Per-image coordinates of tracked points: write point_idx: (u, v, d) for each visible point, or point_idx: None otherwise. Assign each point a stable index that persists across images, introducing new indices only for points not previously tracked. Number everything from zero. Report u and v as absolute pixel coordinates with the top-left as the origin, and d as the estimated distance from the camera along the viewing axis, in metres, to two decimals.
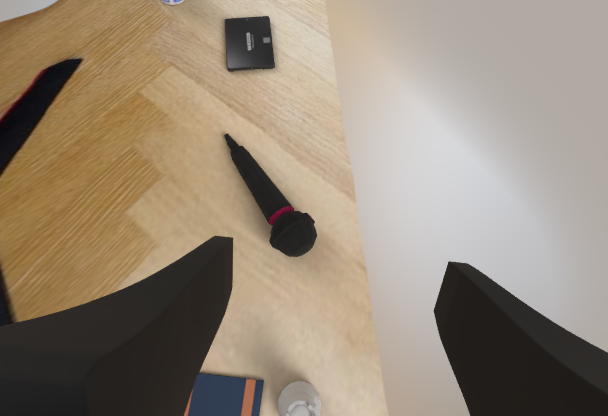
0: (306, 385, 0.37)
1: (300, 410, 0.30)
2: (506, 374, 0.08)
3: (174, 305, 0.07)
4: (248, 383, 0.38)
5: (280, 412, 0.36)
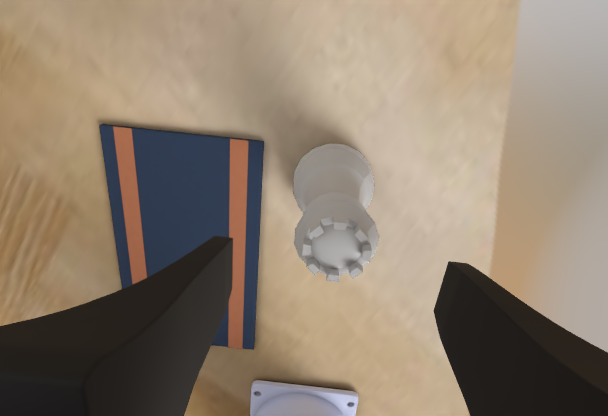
0: (348, 155, 0.18)
1: (336, 237, 0.13)
2: (506, 374, 0.08)
3: (174, 305, 0.07)
4: (235, 146, 0.20)
5: (297, 200, 0.19)
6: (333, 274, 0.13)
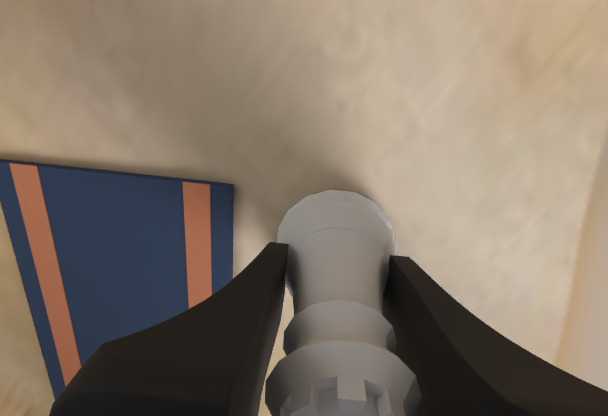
0: (358, 213, 0.12)
1: (342, 413, 0.07)
2: (423, 364, 0.08)
3: (261, 315, 0.07)
4: (190, 192, 0.13)
5: None
6: None
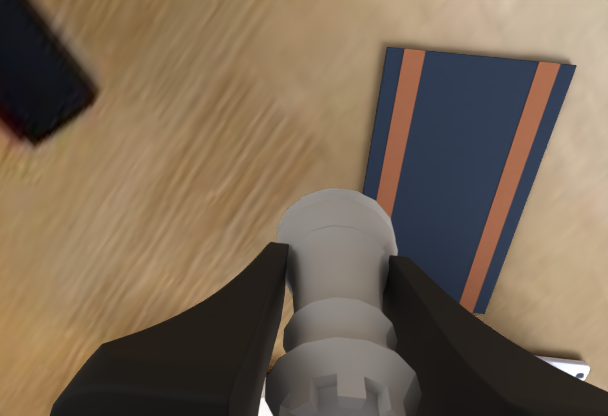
0: (358, 211, 0.12)
1: (342, 411, 0.07)
2: (422, 364, 0.08)
3: (262, 315, 0.07)
4: (541, 70, 0.17)
5: None
6: None
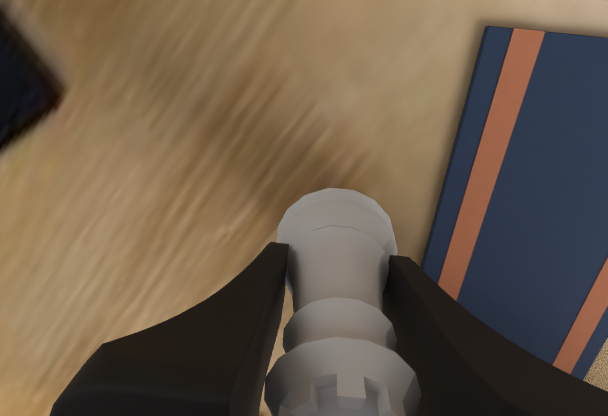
0: (358, 211, 0.12)
1: (341, 411, 0.07)
2: (422, 364, 0.08)
3: (262, 315, 0.07)
4: None
5: None
6: None
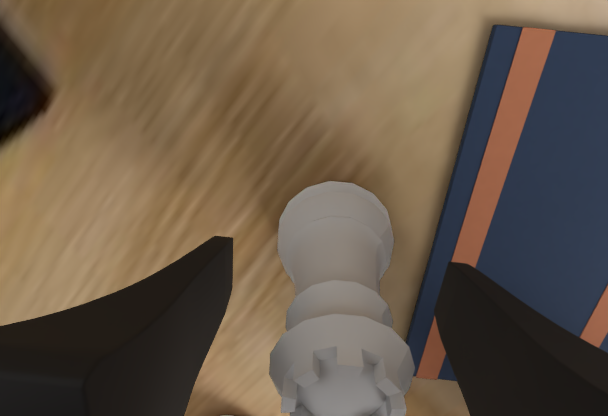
0: (356, 202, 0.12)
1: (341, 381, 0.07)
2: (506, 374, 0.08)
3: (174, 305, 0.07)
4: None
5: (283, 262, 0.13)
6: None
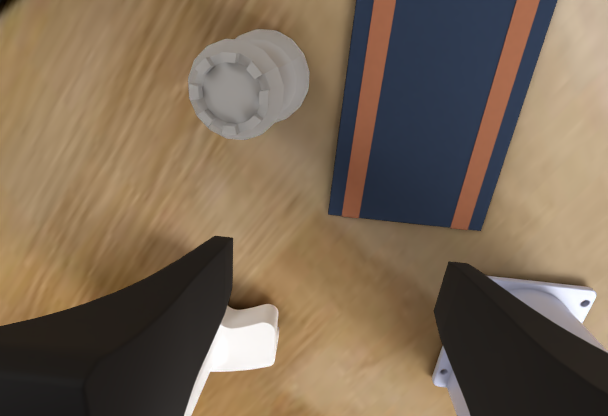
0: (274, 35, 0.16)
1: (229, 78, 0.11)
2: (506, 374, 0.08)
3: (174, 305, 0.07)
4: None
5: None
6: (229, 126, 0.12)
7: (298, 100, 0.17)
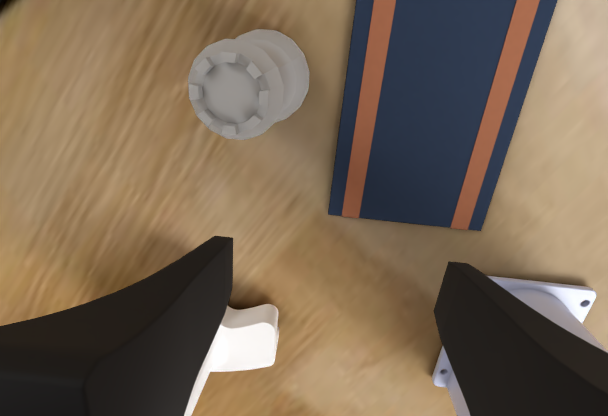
0: (274, 35, 0.16)
1: (228, 78, 0.11)
2: (506, 374, 0.08)
3: (174, 305, 0.07)
4: None
5: None
6: (228, 125, 0.12)
7: (298, 100, 0.17)
